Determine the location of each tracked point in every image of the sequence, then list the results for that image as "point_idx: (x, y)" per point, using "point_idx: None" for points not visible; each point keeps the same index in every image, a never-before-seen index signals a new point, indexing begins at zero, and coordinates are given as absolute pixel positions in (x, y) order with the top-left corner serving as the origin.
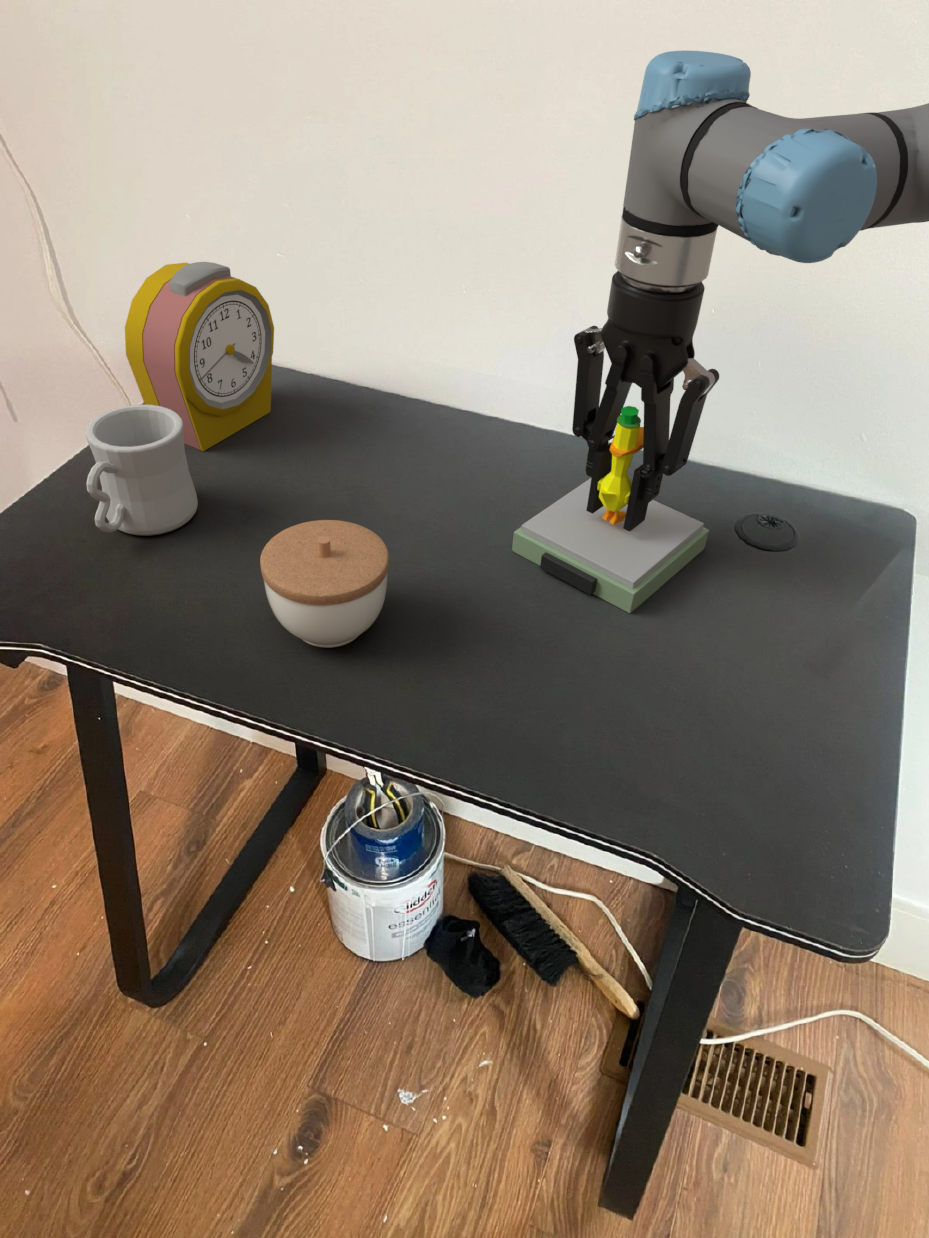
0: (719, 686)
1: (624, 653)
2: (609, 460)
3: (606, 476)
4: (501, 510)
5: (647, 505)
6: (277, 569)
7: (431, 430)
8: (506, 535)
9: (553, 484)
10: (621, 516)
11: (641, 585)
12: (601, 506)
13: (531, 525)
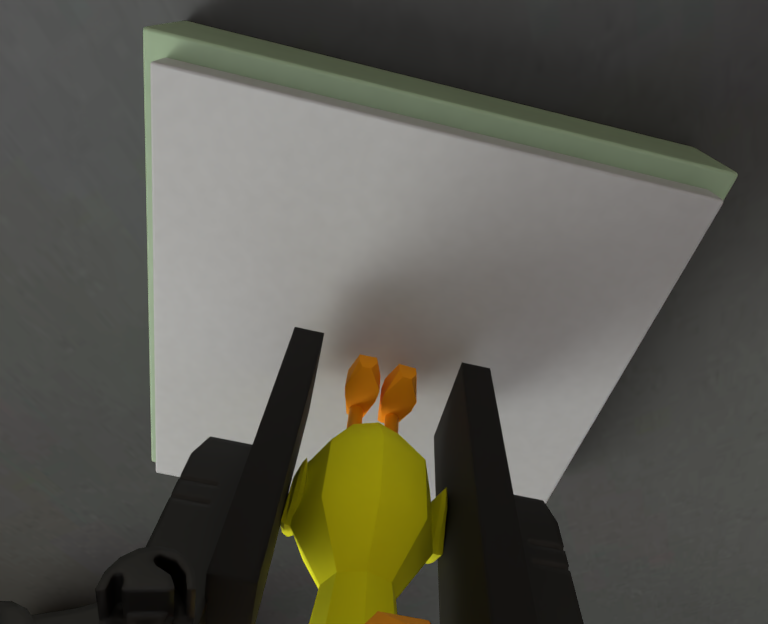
0: (725, 566)
1: None
2: (268, 554)
3: (306, 562)
4: (22, 277)
5: (497, 416)
6: None
7: None
8: (121, 368)
9: (16, 21)
10: (409, 412)
11: None
12: (316, 371)
13: (178, 465)
